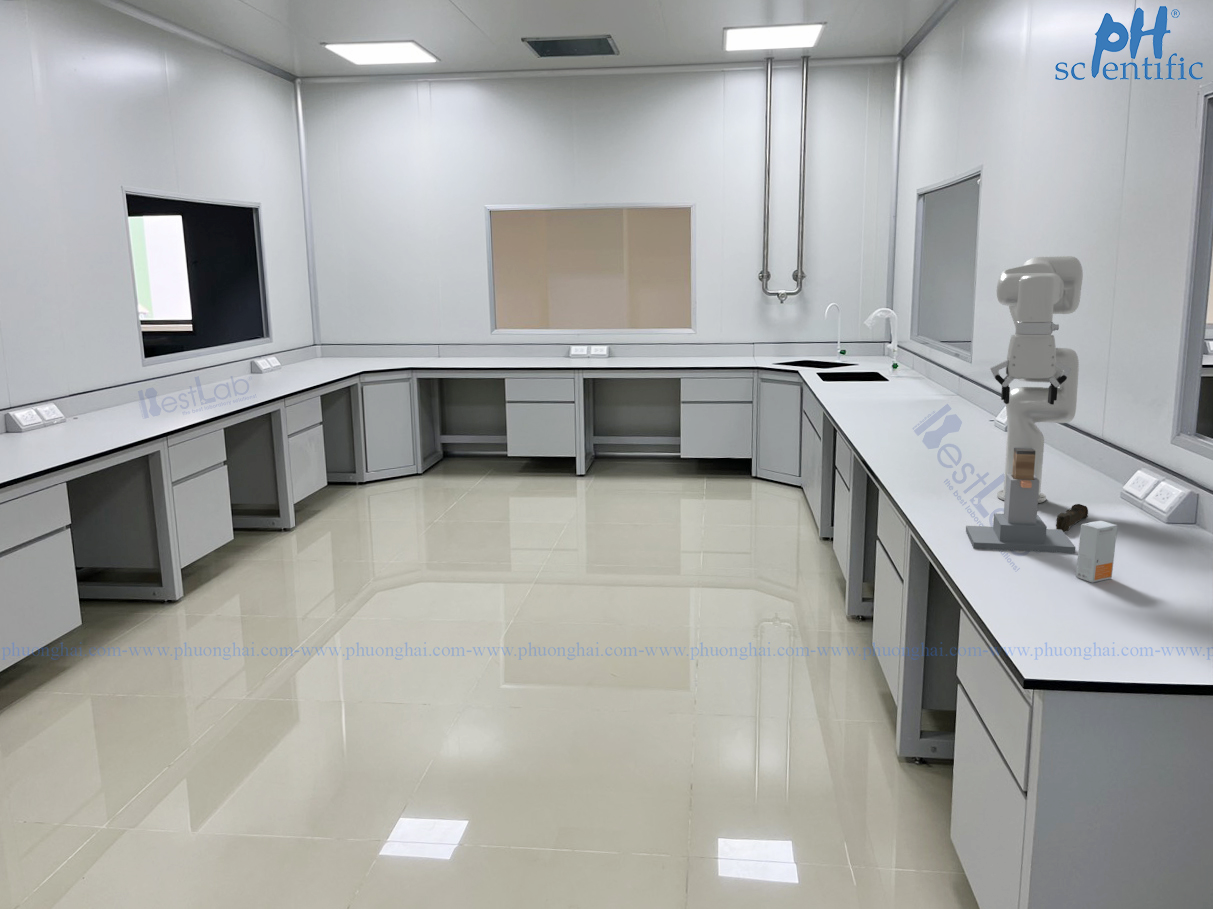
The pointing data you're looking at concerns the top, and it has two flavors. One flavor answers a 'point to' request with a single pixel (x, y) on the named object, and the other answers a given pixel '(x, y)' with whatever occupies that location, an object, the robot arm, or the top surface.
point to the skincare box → (1096, 551)
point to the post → (1023, 463)
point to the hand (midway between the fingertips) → (1028, 403)
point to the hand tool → (1071, 517)
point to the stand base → (1020, 524)
